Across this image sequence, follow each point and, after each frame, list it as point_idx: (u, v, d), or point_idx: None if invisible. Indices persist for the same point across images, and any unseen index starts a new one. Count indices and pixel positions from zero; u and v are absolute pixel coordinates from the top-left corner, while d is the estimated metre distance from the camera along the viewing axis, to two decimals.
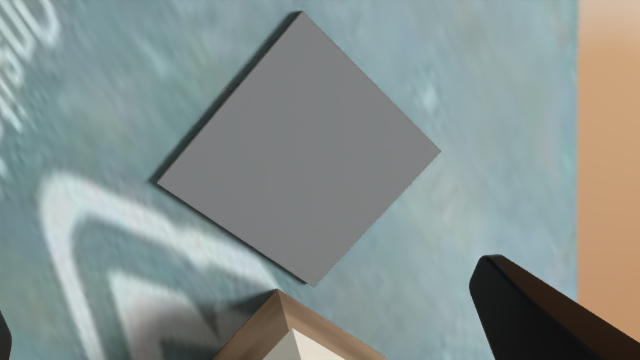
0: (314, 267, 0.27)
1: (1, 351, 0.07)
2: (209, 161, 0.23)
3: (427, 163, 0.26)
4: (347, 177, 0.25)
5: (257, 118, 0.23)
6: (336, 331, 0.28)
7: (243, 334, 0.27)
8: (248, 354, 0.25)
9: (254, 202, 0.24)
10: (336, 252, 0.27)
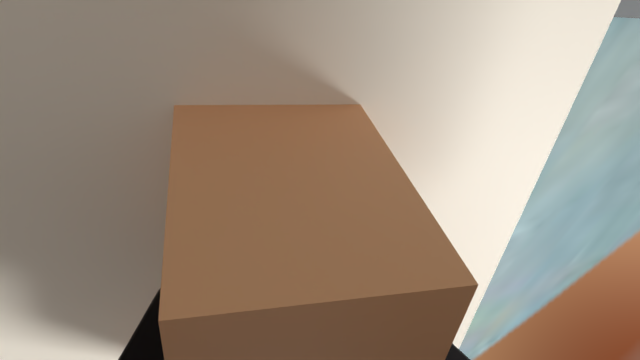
0: None
1: None
2: None
3: None
4: None
5: None
6: None
7: None
8: None
9: None
10: None
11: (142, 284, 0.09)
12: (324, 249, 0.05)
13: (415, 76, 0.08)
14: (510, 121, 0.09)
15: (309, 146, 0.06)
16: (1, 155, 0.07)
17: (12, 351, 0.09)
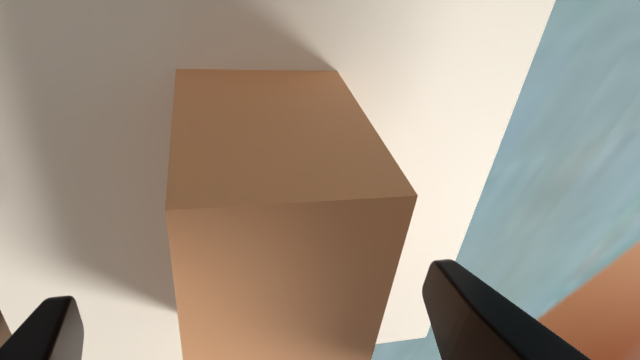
0: None
1: (77, 342, 0.08)
2: None
3: None
4: None
5: None
6: None
7: None
8: None
9: None
10: None
11: (148, 234, 0.10)
12: (297, 169, 0.06)
13: (384, 46, 0.09)
14: (471, 89, 0.10)
15: (290, 100, 0.07)
16: (29, 111, 0.08)
17: (32, 295, 0.10)
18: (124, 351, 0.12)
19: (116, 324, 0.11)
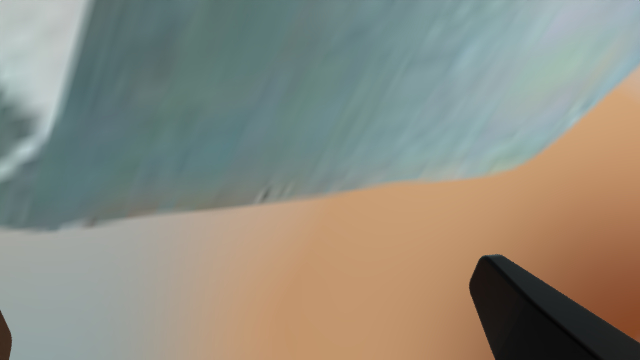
0: None
1: (1, 351, 0.07)
2: None
3: None
4: None
5: None
6: None
7: None
8: None
9: None
10: None
11: None
12: None
13: None
14: None
15: None
16: None
17: None
18: None
19: None
